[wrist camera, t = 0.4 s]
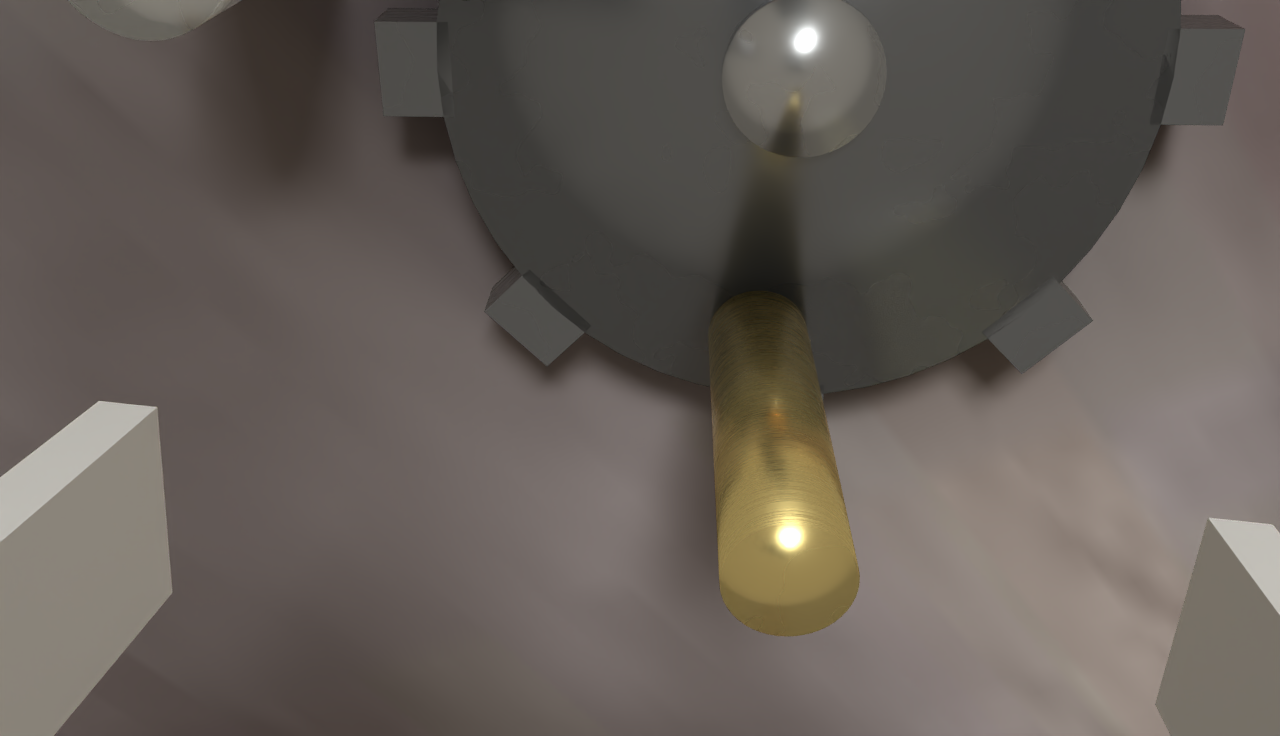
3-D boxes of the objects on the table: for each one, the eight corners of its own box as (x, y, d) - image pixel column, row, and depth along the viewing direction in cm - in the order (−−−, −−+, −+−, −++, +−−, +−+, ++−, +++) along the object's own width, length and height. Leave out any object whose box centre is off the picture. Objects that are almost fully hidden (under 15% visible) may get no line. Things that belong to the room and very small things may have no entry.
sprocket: (843, -684, 27) (980, -1040, 14) (1379, 63, 34) (1773, 247, 22) (228, 52, 35) (-18, 223, 23) (767, 530, 42) (802, 856, 30)
